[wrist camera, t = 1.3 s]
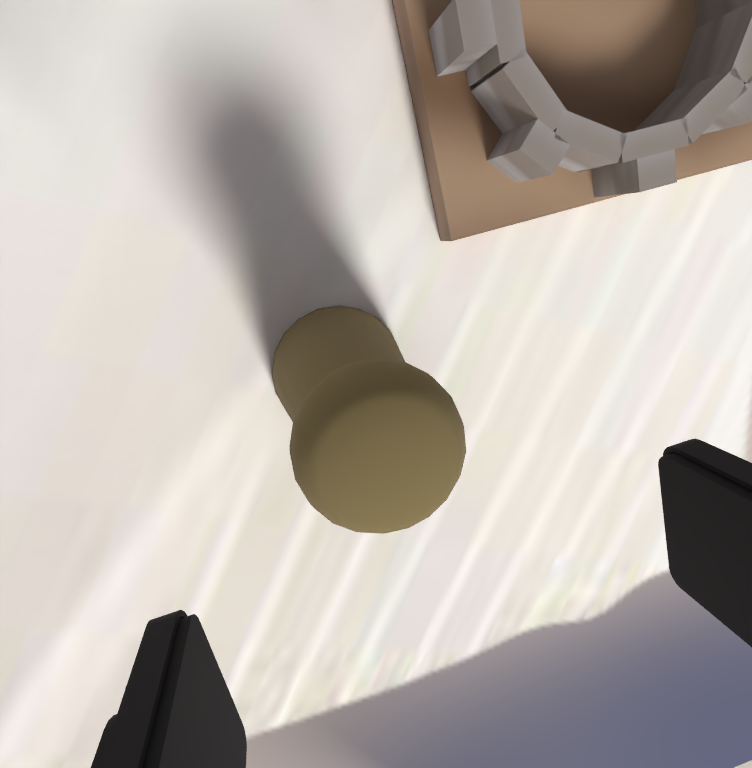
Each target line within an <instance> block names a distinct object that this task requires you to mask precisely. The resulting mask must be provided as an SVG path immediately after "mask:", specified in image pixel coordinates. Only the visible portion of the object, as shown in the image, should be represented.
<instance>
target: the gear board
mask: <svg viewBox="0 0 752 768" xmlns="http://www.w3.org/2000/svg"><path fill="white" fill-rule="evenodd" d="M392 1H393V6H394V11H395V16H396V21H397V26H398V31H399V36H400V41H401V46H402V51H403V56H404V61H405V66H406V71H407V76H408V81H409V86H410V91H411V96H412V101H413V106H414V111H415V116H416V121H417V125H418V130H419V135H420V140H421V145H422V150H423V155H424V160H425V165H426V170H427V175H428V180H429V185H430V190H431V195H432V200H433V205H434V210H435V215H436V220H437V225H438V230H439V235H440V240H441V241H454V240H457V239H461V238H465V237H468V236H472V235H476V234H479V233H483V232H487V231H490V230H494V229H498V228H502V227H505V226H509V225H513V224H516V223H520V222H524V221H527V220H531V219H535V218H538V217H542V216H546V215H550V214H553V213H557V212H561V211H564V210H568V209H572V208H575V207H579V206H583V205H586V204H590V203H594V202H597V201H601V200H605V199H609V198H612V197H616V196H620V195H623V194H628V193H636V192H642V191H645V190H649V189H653V188H657V187H660V186H664V185H668V184H671V183H675V182H677V180H679V179H682V178H686V177H690V176H693V175H697V174H701V173H705V172H708V171H712V170H716V169H719V168H723V167H727V166H730V165H734V164H738V163H741V162H745V161H749V160H752V0H392Z"/></svg>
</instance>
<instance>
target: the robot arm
mask: <svg viewBox="0 0 752 768" xmlns="http://www.w3.org/2000/svg"><path fill="white" fill-rule="evenodd" d="M658 466H659V476H660V485H661V495H662V504H663V513H664V523H665V532H666V542H667V551H668V561H669V569H670V573H671V575H672V577H673V579H674V580H675V582H676V584H677V585H678V586H679V587H680V588H681V589H682V590H683V591H685V592H686V593H687V594H688V595H690V596H691V597H692V598H693V599H695V601H697V602H698V603H699V604H700V605H702V606H703V607H704V608H705V609H706V610H708V611H709V612H710V613H711V614H712V615H714V616H715V617H716V618H717V619H718V620H720V621H721V622H722V623H723V624H724V625H726V626H727V627H728V628H729V629H730V630H732V631H733V632H734V633H735V634H736V635H738V636H739V637H740V638H741V639H743V640H744V641H745V642H746V643H747V644H749V645H750V646H751V647H752V463H750V462H748V461H746V460H744V459H741V458H739V457H737V456H735V455H732V454H730V453H728V452H726V451H723V450H721V449H719V448H717V447H715V446H712V445H710V444H708V443H706V442H703V441H701V440H698V439H691V440H688V441H685V442H682V443H679V444H676V445H673V446H670V447H667V448H666V449H665V450H664V453H663V457H661V458H660V459H659V464H658ZM246 745H247V744H246V735H245V730H244V726H243V724H242V721H241V719H240V716H239V714H238V711H237V709H236V707H235V704H234V702H233V699H232V697H231V695H230V692H229V690H228V688H227V685H226V683H225V680H224V678H223V676H222V673H221V671H220V668H219V666H218V664H217V661H216V659H215V656H214V654H213V652H212V649H211V647H210V645H209V642H208V640H207V637H206V635H205V633H204V630H203V628H202V625H201V623H200V621H199V619H198V617H197V616H196V615H195V614H193V615H190V616H187V615H186V613H185V612H184V611H183V610H179V611H176V612H173V613H170V614H167V615H164V616H161V617H158V618H155V619H152V620H150V621H149V622H148V624H147V626H146V629H145V632H144V635H143V638H142V641H141V644H140V647H139V650H138V653H137V656H136V659H135V662H134V665H133V668H132V671H131V674H130V677H129V680H128V683H127V686H126V689H125V692H124V695H123V698H122V701H121V704H120V708H119V711H118V714H116V715H114V716H113V717H112V718H110V719H109V720H108V723H107V725H106V727H105V729H104V731H103V734H102V737H101V740H100V743H99V746H98V749H97V752H96V754H95V757H94V760H93V763H92V766H91V768H246V751H247V750H246V749H247V746H246ZM735 768H752V761H749V762H747V763H744V764H742V765H740V766H737V767H735Z"/></svg>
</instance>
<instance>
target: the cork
mask: <svg viewBox="0 0 752 768" xmlns="http://www.w3.org/2000/svg"><path fill="white" fill-rule="evenodd" d="M272 376H273V381H274V386H275V392H276V394H277V396H278V398H279V399H280V401H281V403H282V405H283V406H284V408H285V410H286V411H287V413H288V415H289V416H290V418H291V420H292V421H293V427H292V434H291V440H290V455H291V460H292V465H293V471H294V476H295V480H296V481H297V483H298V485H299V486H300V488H301V490H302V491H303V493H304V495H305V496H306V498H307V500H308V501H309V503H310V504H311V505H312V506H313V507H314V508H315V509H316V510H317V511H319V512H320V513H321V514H322V515H323V516H325V517H326V518H327V519H328V520H330V521H331V522H332V523H334V524H336V525H339V526H342V527H344V528H347V529H350V530H352V531H355V532H365V533H389V532H393V531H398V530H402V529H406V528H409V527H411V526H413V525H415V524H417V523H418V522H420V521H422V520H424V519H426V518H428V517H429V516H430V515H431V514H432V513H433V512H434V511H435V510H436V509H438V508H439V507H440V506H441V505H442V504H443V503H444V502H445V501H446V500H447V498H448V496H449V495H450V493H451V491H452V489H453V488H454V486H455V484H456V482H457V481H458V479H459V477H460V475H461V471H462V467H463V462H464V458H465V454H466V445H465V434H464V426H463V422H462V419H461V417H460V415H459V412H458V410H457V408H456V406H455V404H454V402H453V399H452V397H451V396H450V395H449V394H448V393H447V391H446V390H445V389H444V388H443V387H442V386H441V385H440V384H439V383H438V382H437V381H436V380H435V379H434V378H433V377H432V376H430V375H429V374H428V373H426V372H424V371H422V370H420V369H418V368H416V367H414V366H412V365H410V364H408V363H406V362H405V361H404V359H403V356H402V354H401V352H400V350H399V348H398V346H397V344H396V342H395V340H394V338H393V335H392V333H391V332H390V331H389V330H388V329H387V328H386V327H385V326H384V325H383V324H382V323H381V322H380V321H379V320H378V319H377V318H376V317H374V316H372V315H370V314H368V313H366V312H364V311H362V310H360V309H356V308H349V307H343V306H334V307H328V308H322V309H317V310H315V311H313V312H311V313H309V314H307V315H306V316H304V317H302V318H300V319H298V320H297V321H296V322H295V323H294V324H293V325H292V326H291V327H290V328H289V329H288V330H287V331H286V332H285V333H284V335H283V337H282V339H281V341H280V343H279V345H278V347H277V349H276V351H275V354H274V361H273V369H272Z"/></svg>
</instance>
